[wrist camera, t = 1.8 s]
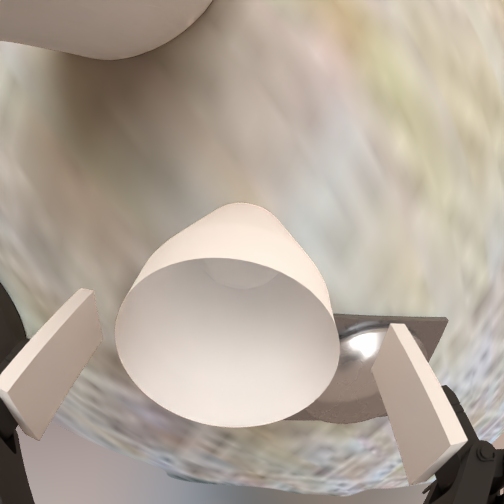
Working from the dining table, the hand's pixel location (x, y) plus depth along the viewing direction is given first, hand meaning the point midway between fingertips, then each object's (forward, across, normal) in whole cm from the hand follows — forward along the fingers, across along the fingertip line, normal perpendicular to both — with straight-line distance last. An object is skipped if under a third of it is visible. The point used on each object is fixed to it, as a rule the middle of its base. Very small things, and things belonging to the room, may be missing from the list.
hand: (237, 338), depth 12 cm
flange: (+10, +12, -12) cm, 20 cm away
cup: (+10, -1, 0) cm, 11 cm away
